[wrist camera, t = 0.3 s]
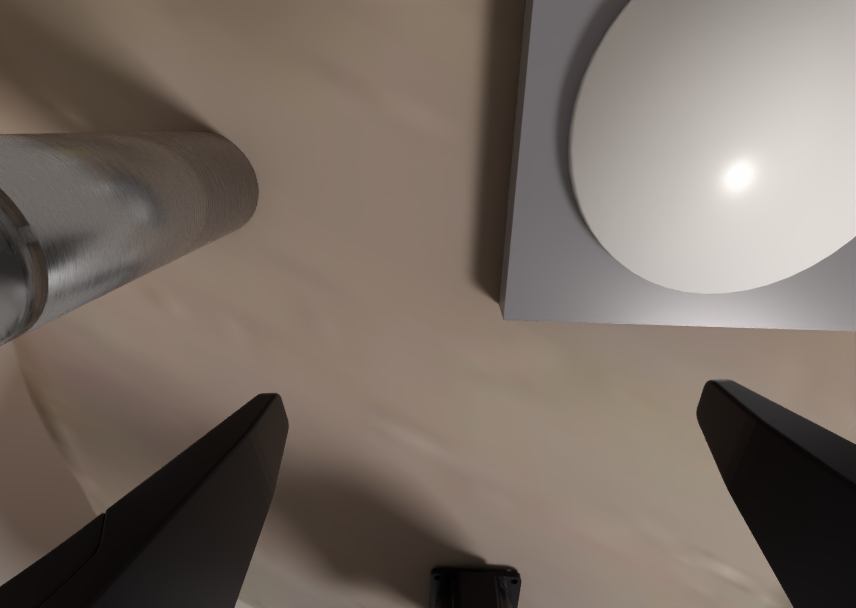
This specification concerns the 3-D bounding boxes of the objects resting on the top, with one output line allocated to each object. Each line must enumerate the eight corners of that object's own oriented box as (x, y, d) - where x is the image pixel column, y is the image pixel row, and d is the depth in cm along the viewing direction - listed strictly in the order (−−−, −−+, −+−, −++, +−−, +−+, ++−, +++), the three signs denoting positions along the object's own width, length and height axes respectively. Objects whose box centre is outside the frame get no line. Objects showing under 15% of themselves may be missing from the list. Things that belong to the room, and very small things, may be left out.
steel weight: (264, 235, 22) (54, 359, 10) (170, 232, 23) (-144, 352, 11) (250, 132, 21) (-25, 139, 8) (148, 130, 21) (-265, 133, 9)
